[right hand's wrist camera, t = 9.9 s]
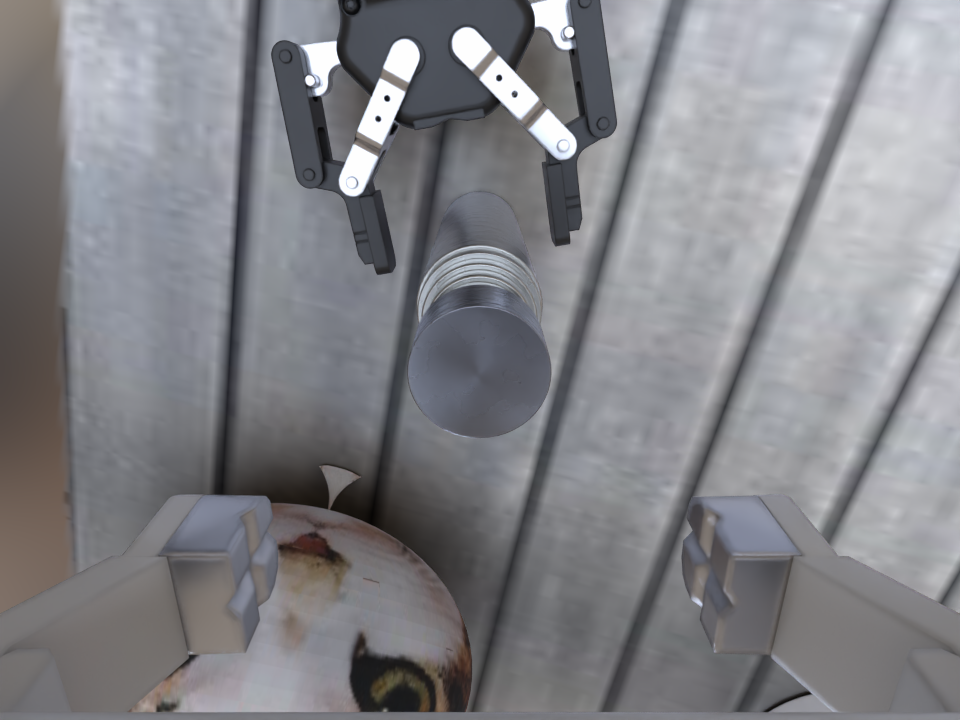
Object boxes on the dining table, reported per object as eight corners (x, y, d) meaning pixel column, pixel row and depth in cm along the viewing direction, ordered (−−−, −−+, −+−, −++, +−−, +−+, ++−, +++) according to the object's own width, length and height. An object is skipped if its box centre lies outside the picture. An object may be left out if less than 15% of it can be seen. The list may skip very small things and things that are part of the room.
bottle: (451, 182, 36) (416, 269, 16) (527, 202, 36) (584, 312, 16) (433, 257, 37) (381, 421, 18) (506, 276, 38) (535, 457, 18)
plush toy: (539, 473, 36) (479, 919, 27) (467, 534, 52) (412, 831, 42) (144, 369, 33) (-89, 830, 23) (192, 467, 49) (64, 770, 39)
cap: (431, 269, 18) (424, 289, 16) (560, 302, 18) (570, 326, 16) (402, 388, 19) (394, 420, 17) (523, 416, 19) (528, 451, 17)
